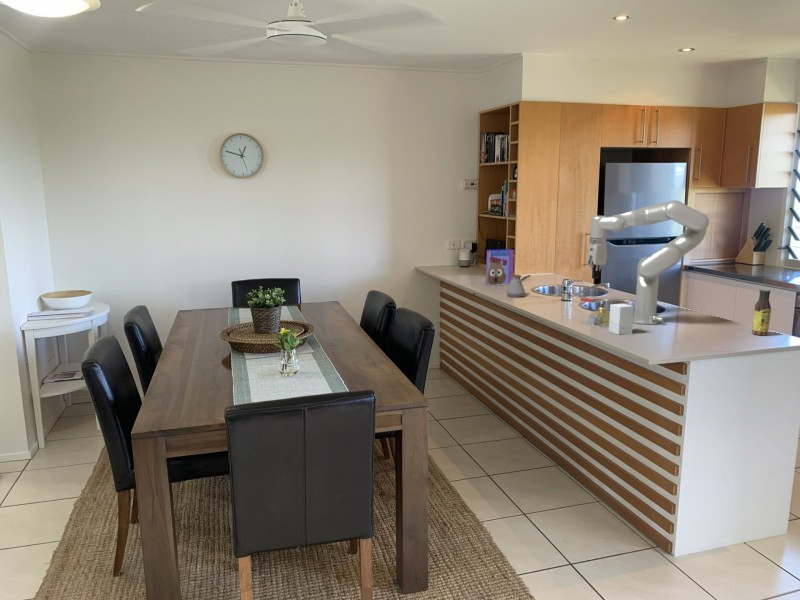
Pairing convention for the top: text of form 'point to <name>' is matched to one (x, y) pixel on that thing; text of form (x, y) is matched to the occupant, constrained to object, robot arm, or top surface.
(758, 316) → the sauce bottle
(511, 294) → the coffee pot
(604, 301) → the lever
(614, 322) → the supplement box
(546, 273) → the top surface
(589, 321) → the valve
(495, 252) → the cereal box
